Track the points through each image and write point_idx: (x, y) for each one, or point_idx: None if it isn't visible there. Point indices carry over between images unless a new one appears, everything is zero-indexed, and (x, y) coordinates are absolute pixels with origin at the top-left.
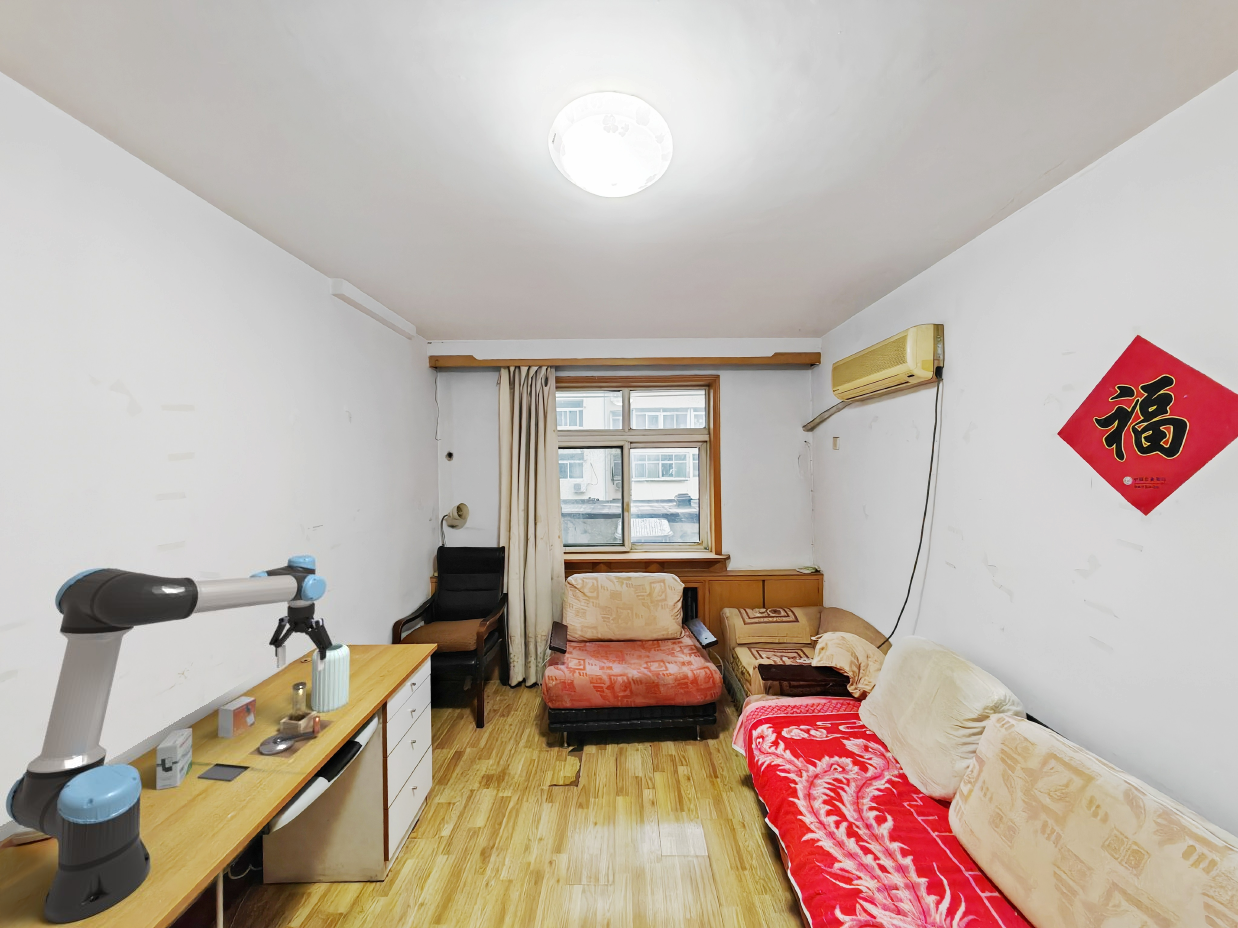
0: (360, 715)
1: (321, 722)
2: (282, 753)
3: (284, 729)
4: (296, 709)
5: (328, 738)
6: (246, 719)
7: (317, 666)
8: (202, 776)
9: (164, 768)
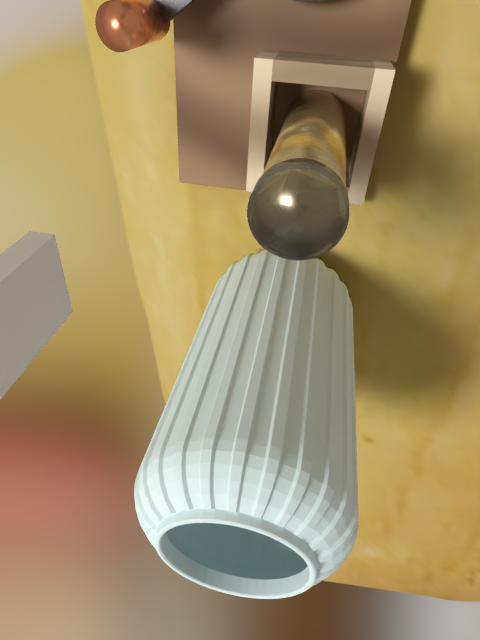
0: (134, 246)
1: (230, 166)
2: None
3: (361, 59)
4: (303, 116)
5: (138, 60)
6: None
7: (8, 258)
8: None
9: None
